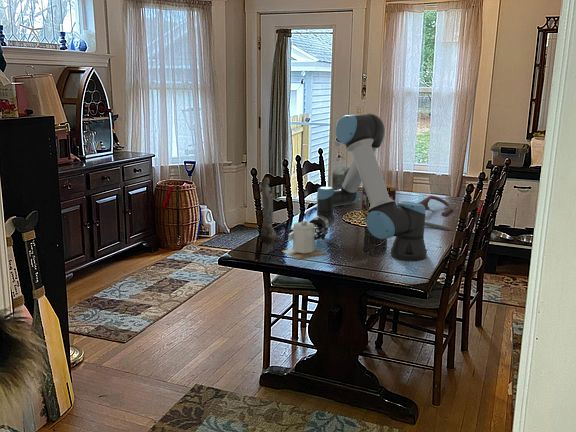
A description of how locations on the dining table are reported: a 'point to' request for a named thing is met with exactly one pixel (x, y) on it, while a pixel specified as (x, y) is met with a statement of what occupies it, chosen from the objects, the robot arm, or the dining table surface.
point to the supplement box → (392, 195)
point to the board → (303, 256)
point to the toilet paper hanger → (425, 201)
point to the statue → (267, 214)
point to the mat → (332, 241)
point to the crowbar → (437, 226)
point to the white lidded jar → (303, 237)
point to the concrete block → (339, 177)
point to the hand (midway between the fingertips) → (300, 238)
